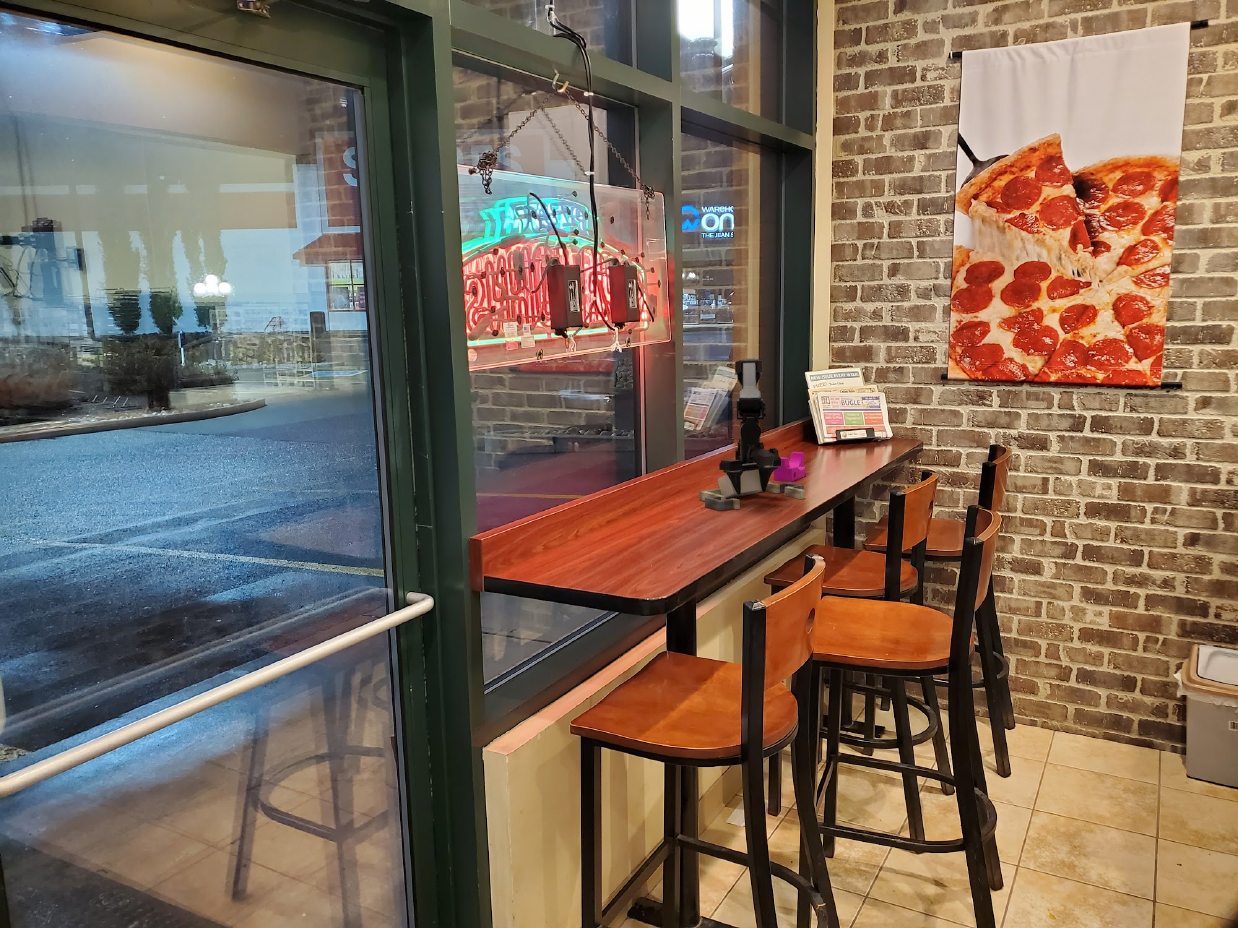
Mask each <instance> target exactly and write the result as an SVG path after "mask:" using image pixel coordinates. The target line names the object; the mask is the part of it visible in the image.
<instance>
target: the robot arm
mask: <svg viewBox="0 0 1238 928" xmlns="http://www.w3.org/2000/svg"><path fill="white" fill-rule="evenodd" d="M762 374H763V361H762V360H759V359H756V358H742V359H739V360H737V361H734V375H735V376H737V379H736V381H737V383H738V384H739V386H740V387H741V388H742V389H741V390H740V391H738V398H737V399H736V421H737V420H739V421H740V422H739V439H738V441H737V448H734V449H735V450H734V451H735V459H729V458H728V459H721V460H720V462H719V465H718V466H719V471H722V473H725V475H727V476H728V477H729V479H730V480H731V482H732V484H733V487H734V489H735V491H736V493H737V494H738V495H740V494H741V475H742V473H743V471H751V470H758V469H759V476H760V483H761V488H762V491H764V492H767V491H766V488H767V485H768V482H770V478H771V476H772V474H773V473H774V470H776V469H778V467H775V466H782V460H781V458H780V457H781V456H780V455H779V449H778V448H777V447H772V448H769V449H766V448H765V444H764V442H763V441H761V434H762V429H761V423H760V421H759V420H765V417H766V416H767V411H766V410H767V409H766V402H765V400H764V398H762V395H761V394H762V393H761V391H760V389H758V388H757V386H758V384H759V382H760V381H761V375H762Z"/></svg>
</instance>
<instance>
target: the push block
mask: <svg viewBox="0 0 1238 928" xmlns="http://www.w3.org/2000/svg"><path fill="white" fill-rule="evenodd" d="M717 483H718V486H719V488H720V491H721V495H723V496H725V499H731V498H735V497H736V498H737V497H743V496H749V495H755V494H757V493H761V492H760V491H762V488H761V483H760V476H759V469H758V470H751V471H743V473H742V475H741V494H740V495H738V494H737V493H736V491H735V489H734V487H733V484H732V482H731V480H730V479H729V477H728V476H727V474H725V475H723V476H720V477H718V478H717ZM766 489H767V488H766Z"/></svg>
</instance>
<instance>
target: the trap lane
mask: <svg viewBox="0 0 1238 928" xmlns="http://www.w3.org/2000/svg"><path fill="white" fill-rule="evenodd" d="M804 487H805V485H803V484H800V483H799V484H798V483H794V482H790V481H785V482H780V483H774V482H770V481H769V482H768V485H767V489H766V491H760V492H759V493H763V492H768V493H772V494H781V493H784V496H785V497H790V498H794V499H799V500H802V499H803V500H804V499H805V498H806V496H805V495H806V493H805V492H806V491H805V488H804ZM698 494H699V496H698V497H699V499H698V500H700V501H703V502H704V507H705V508H709V509H713V510H715V511H726V510H727V511H728V510H732V509H733V510H738V509H739V510H740V509H741V508H740V505H741V504H740V503H741V502H740V499H737V498H735V497H732V498H725V496H723V495H721V491H720V487H719V488H713V489H712V488H711V489H706V490H705V489H704V490H700V491H699V493H698Z"/></svg>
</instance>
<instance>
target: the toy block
mask: <svg viewBox="0 0 1238 928" xmlns="http://www.w3.org/2000/svg"><path fill="white" fill-rule="evenodd" d="M779 457H780V458H781V460H782V466H775V467H778V469H776V470H774V471H773V481H779V482H794V481H796V480H799V479H801V478H804V477H805V476H806V467H805V452H801V451H797V452H796V451H792V452H790V458H789V457H781V456H779Z"/></svg>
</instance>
